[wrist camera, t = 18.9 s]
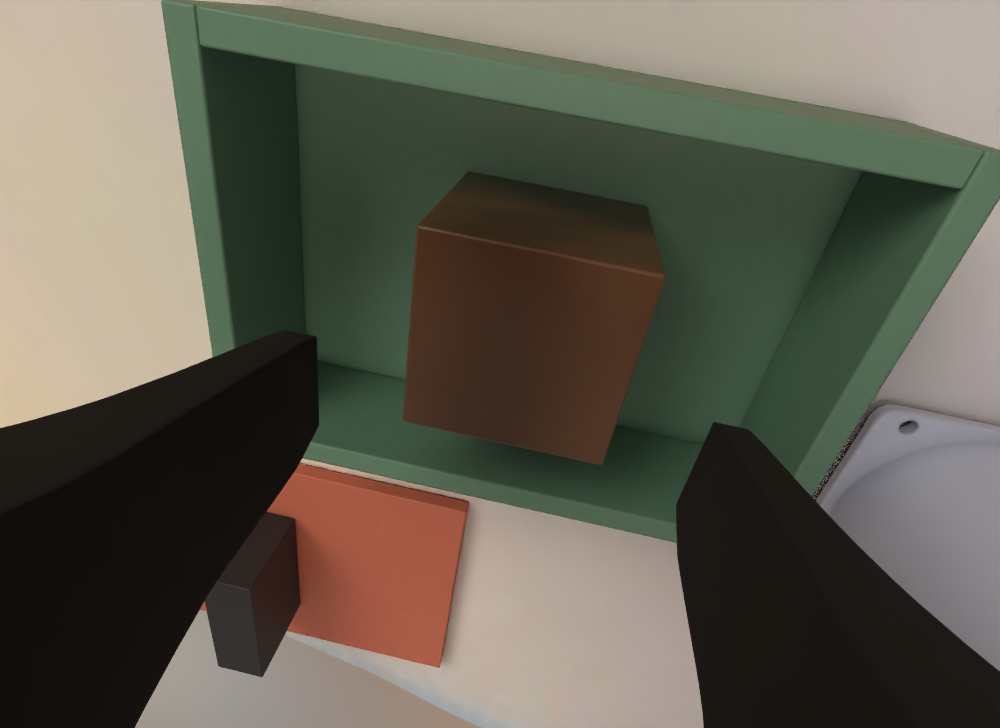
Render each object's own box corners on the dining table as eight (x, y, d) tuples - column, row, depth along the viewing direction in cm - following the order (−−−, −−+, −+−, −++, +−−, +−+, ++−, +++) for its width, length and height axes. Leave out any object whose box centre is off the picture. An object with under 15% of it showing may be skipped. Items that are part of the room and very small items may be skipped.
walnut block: (648, 205, 15) (667, 275, 11) (602, 361, 18) (602, 466, 13) (467, 170, 15) (415, 224, 11) (448, 329, 18) (401, 422, 14)
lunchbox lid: (469, 501, 22) (444, 590, 19) (442, 656, 28) (419, 747, 25) (90, 415, 23) (-3, 485, 20) (141, 584, 29) (77, 661, 26)
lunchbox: (907, 121, 14) (1027, 158, 10) (737, 459, 19) (770, 564, 16) (276, 6, 14) (158, -3, 11) (295, 363, 20) (224, 441, 16)
